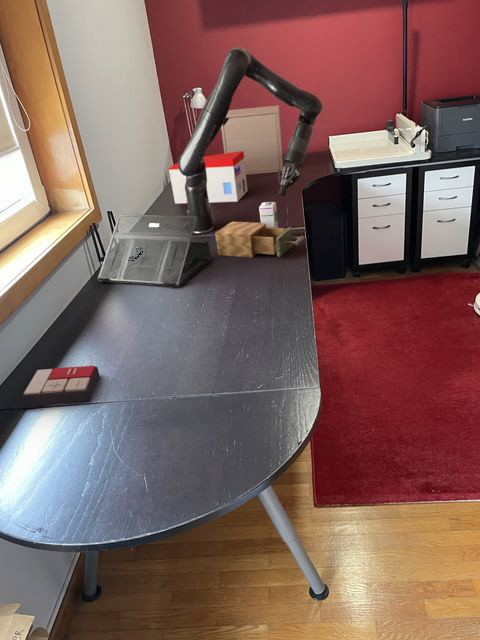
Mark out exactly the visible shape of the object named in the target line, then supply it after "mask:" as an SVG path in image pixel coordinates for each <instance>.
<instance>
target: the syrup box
mask: <svg viewBox="0 0 480 640" xmlns="http://www.w3.org/2000/svg"><path fill="white" fill-rule="evenodd" d="M258 210H259V218H260V219H259V220H260V223H266V228H279V220H278V219H279V218H278V210H277V202H276V201H265V202H261V204H260V205H259V206H258Z"/></svg>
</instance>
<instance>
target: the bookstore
mask: <svg viewBox="0 0 480 640" xmlns="http://www.w3.org/2000/svg"><path fill="white" fill-rule="evenodd" d="M203 157H204V160H205V165H206V174H207V193H208V199H209V203H231V202H232V203H236V202H239V201H240V200H241V199H242V198H243V197H244V196H245V195H246V193H247V192H248V182H247V175H246V173H245V164H244V151H240V152H233V153H226V154H224V153H219V154H212V155H206V156H203ZM168 172H169V177H170V178H169V179H170V183H171V188H172V189H171V190H172V195H173V200H174V204H176V205H177V204H178V205H179V204H187V198H186V192H185V183H186V176H184V175H183V174H182V173H181V172H180V170H179V167H178V162H177V163H174V164H173V165H172V166H170V167H168Z"/></svg>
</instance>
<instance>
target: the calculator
mask: <svg viewBox="0 0 480 640" xmlns="http://www.w3.org/2000/svg"><path fill="white" fill-rule="evenodd" d="M99 379H100V372H99V368H98V366H95V365H81V366H67V367H54V368H46V369H38V370H36V371H35V373H34V375H33V376H32V378H31V380H30V381H29V383H28V385H27V386H26V388H25V389H24V392H23V393H22V395H21V397H22V400H23V403H24V405H25V408H26V409H31V408H33V409H34V408H42V407H44V406H45V405H58V404H59V405H60V404H74V403H76V404H77V403H89V402H90V401H91V400H92V397H93V394H94V392H95V390H96V387H97V384H98V382H99Z"/></svg>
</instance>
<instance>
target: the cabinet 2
mask: <svg viewBox="0 0 480 640" xmlns="http://www.w3.org/2000/svg"><path fill="white" fill-rule="evenodd" d="M263 227H265V228H266V223H261V222H247V221H231V222H229V223H228V224H226V225H225V226H223V227H222V228H220V229H218V230H217V231H215V233H214V234H215V235H214V236H215V243H216V248H217V249H216V250H217V255H218V256H224V257H225V256H227V257H236V258H237V257H238V258H248V259H249V258H254V257H256V256H257V255H258V254H259V253H253V247H252V238H251V236H253V235H254V234H255V233H257V232H258V231H259V230H261V229H262V228H263Z"/></svg>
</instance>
